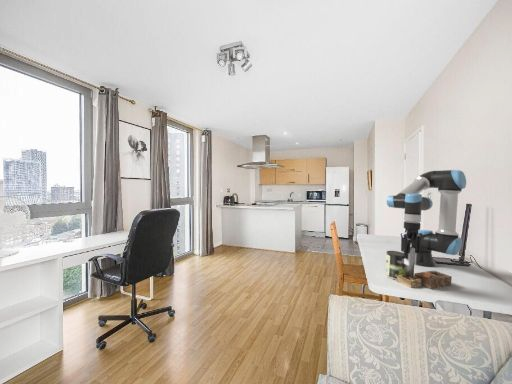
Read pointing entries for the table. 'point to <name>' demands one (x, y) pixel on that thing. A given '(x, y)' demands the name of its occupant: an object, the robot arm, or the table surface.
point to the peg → (410, 268)
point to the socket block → (434, 279)
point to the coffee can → (395, 264)
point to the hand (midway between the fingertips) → (409, 264)
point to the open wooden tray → (409, 281)
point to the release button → (426, 274)
